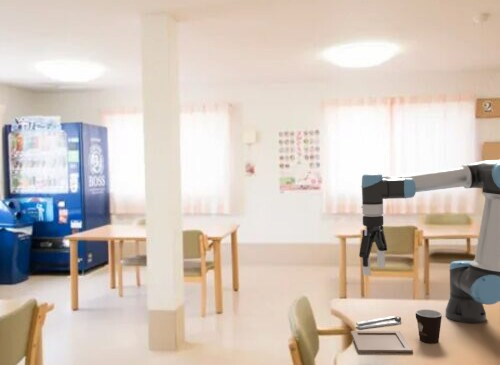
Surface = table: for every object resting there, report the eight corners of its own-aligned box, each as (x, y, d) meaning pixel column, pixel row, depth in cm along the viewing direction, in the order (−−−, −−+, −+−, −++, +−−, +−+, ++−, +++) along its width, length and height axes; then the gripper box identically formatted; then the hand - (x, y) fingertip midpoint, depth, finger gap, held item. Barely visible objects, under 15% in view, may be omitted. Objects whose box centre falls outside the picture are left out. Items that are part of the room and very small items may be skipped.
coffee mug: (444, 346, 166) (444, 317, 166) (418, 344, 168) (418, 316, 168) (438, 333, 178) (437, 307, 177) (413, 332, 179) (413, 306, 179)
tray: (399, 334, 179) (399, 330, 178) (412, 353, 161) (412, 350, 161) (350, 333, 180) (350, 330, 180) (358, 353, 162) (358, 349, 162)
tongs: (396, 319, 195) (396, 315, 194) (403, 323, 190) (403, 318, 190) (353, 324, 189) (353, 320, 189) (360, 329, 184) (359, 324, 184)
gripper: (376, 211, 191) (377, 263, 192) (348, 218, 171) (350, 277, 173) (394, 211, 187) (396, 265, 188) (368, 219, 167) (370, 279, 168)
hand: (374, 271), depth 180 cm, fingers open, 13 cm apart
